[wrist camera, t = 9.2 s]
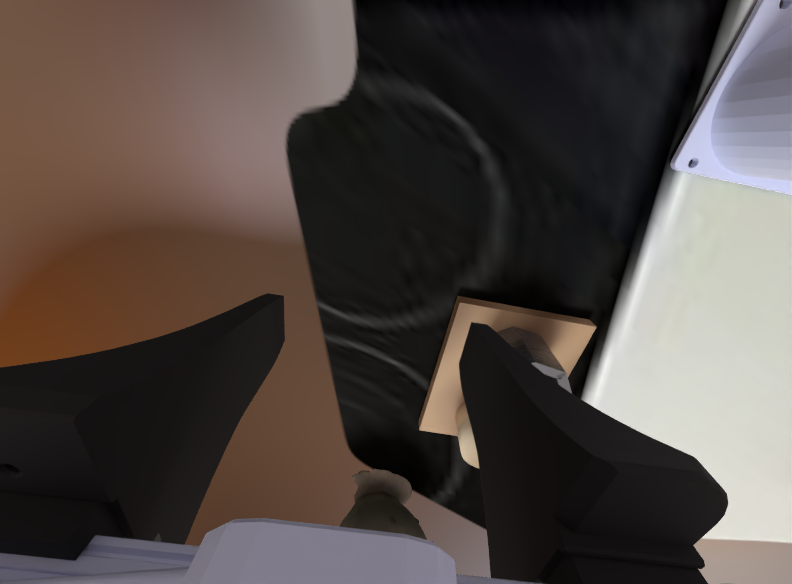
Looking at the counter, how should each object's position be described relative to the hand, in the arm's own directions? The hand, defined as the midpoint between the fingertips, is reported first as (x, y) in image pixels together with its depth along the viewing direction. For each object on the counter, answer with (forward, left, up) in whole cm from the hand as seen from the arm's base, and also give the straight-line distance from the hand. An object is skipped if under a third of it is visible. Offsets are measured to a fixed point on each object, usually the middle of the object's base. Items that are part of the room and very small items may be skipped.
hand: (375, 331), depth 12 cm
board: (-11, +9, -10) cm, 17 cm away
